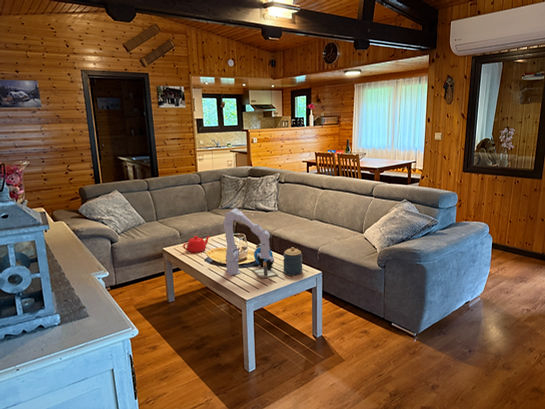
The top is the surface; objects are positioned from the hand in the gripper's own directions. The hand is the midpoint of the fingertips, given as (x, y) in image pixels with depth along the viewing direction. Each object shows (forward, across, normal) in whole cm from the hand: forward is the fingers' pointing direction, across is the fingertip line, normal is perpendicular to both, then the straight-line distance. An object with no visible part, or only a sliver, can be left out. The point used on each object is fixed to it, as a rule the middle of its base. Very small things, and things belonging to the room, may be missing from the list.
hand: (265, 268), depth 242 cm
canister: (+5, +8, +17) cm, 20 cm away
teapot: (+5, -79, -4) cm, 79 cm away
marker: (+4, 0, 0) cm, 4 cm away
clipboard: (+5, -4, +2) cm, 6 cm away
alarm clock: (+5, -16, +12) cm, 21 cm away
